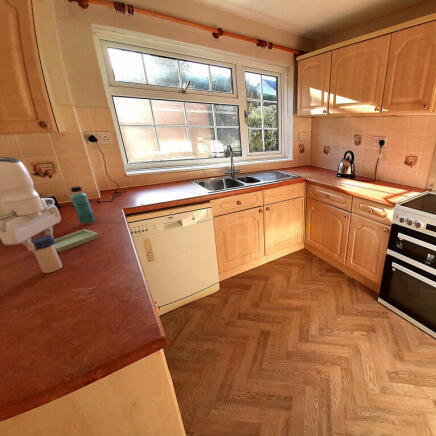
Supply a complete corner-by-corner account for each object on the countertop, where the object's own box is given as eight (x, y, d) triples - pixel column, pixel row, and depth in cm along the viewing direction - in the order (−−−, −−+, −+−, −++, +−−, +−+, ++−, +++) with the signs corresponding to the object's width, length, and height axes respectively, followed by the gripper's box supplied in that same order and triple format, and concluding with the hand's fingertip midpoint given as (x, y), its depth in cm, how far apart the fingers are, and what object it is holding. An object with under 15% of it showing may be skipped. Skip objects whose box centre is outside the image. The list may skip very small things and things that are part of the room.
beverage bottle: (78, 225, 127) (63, 188, 120) (91, 220, 133) (78, 185, 125) (86, 226, 125) (71, 189, 117) (99, 222, 131) (86, 185, 123)
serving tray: (59, 252, 100) (57, 248, 99) (45, 247, 105) (43, 242, 104) (99, 237, 113) (98, 233, 112) (85, 232, 118) (84, 229, 117)
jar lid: (56, 245, 86) (53, 238, 85) (31, 252, 81) (27, 245, 80) (53, 240, 89) (50, 233, 88) (29, 246, 85) (25, 239, 84)
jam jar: (47, 274, 85) (33, 245, 81) (39, 270, 88) (26, 242, 83) (65, 266, 90) (53, 238, 86) (58, 263, 92) (46, 236, 88)
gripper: (7, 217, 71) (28, 258, 76) (56, 197, 90) (71, 231, 95) (-19, 219, 70) (4, 261, 75) (37, 199, 89) (52, 233, 94)
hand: (42, 244), depth 85 cm, fingers closed on jar lid, 6 cm apart
